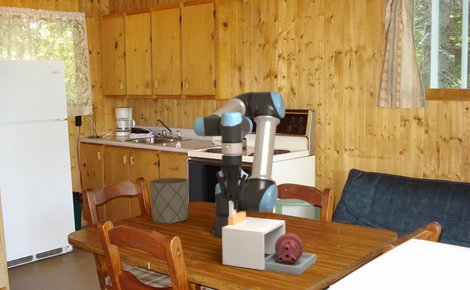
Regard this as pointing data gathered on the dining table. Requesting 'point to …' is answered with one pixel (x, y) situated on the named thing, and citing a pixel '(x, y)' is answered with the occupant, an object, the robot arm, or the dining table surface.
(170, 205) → the planter
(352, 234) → the dining table surface
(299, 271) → the grey shallow tray
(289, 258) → the mechanical component
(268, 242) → the white open cubby
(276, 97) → the robot arm
